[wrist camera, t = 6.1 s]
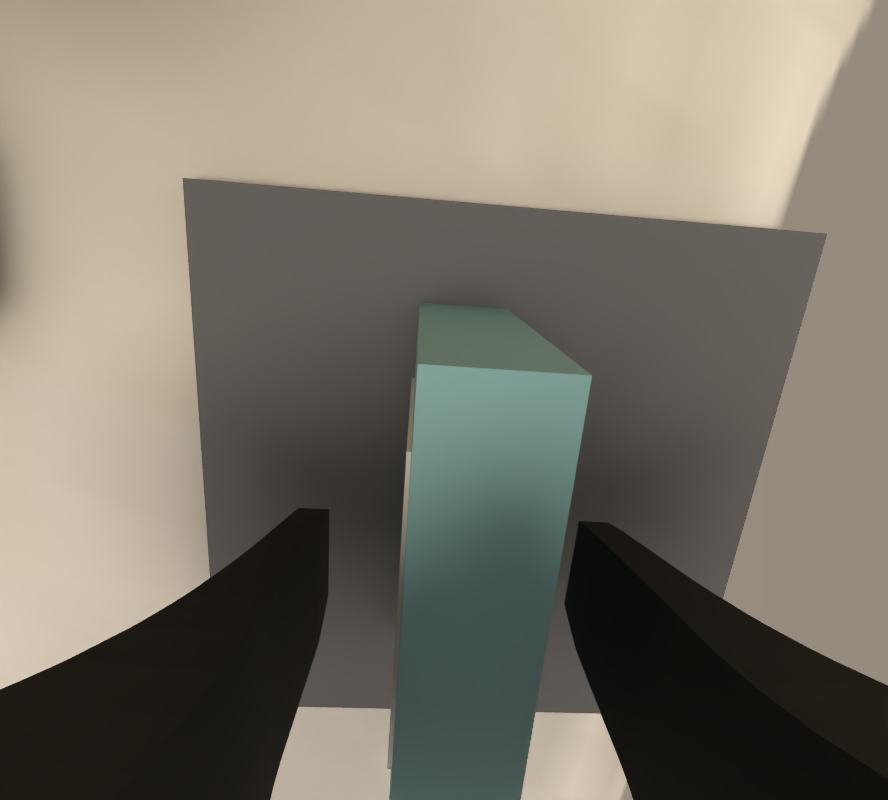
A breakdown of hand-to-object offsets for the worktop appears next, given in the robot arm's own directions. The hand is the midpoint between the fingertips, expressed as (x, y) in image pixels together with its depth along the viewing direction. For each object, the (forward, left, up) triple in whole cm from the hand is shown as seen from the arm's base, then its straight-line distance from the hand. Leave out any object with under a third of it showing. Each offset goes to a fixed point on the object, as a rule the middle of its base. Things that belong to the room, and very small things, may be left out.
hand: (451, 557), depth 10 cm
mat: (0, -1, -3) cm, 3 cm away
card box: (0, 0, -3) cm, 3 cm away
